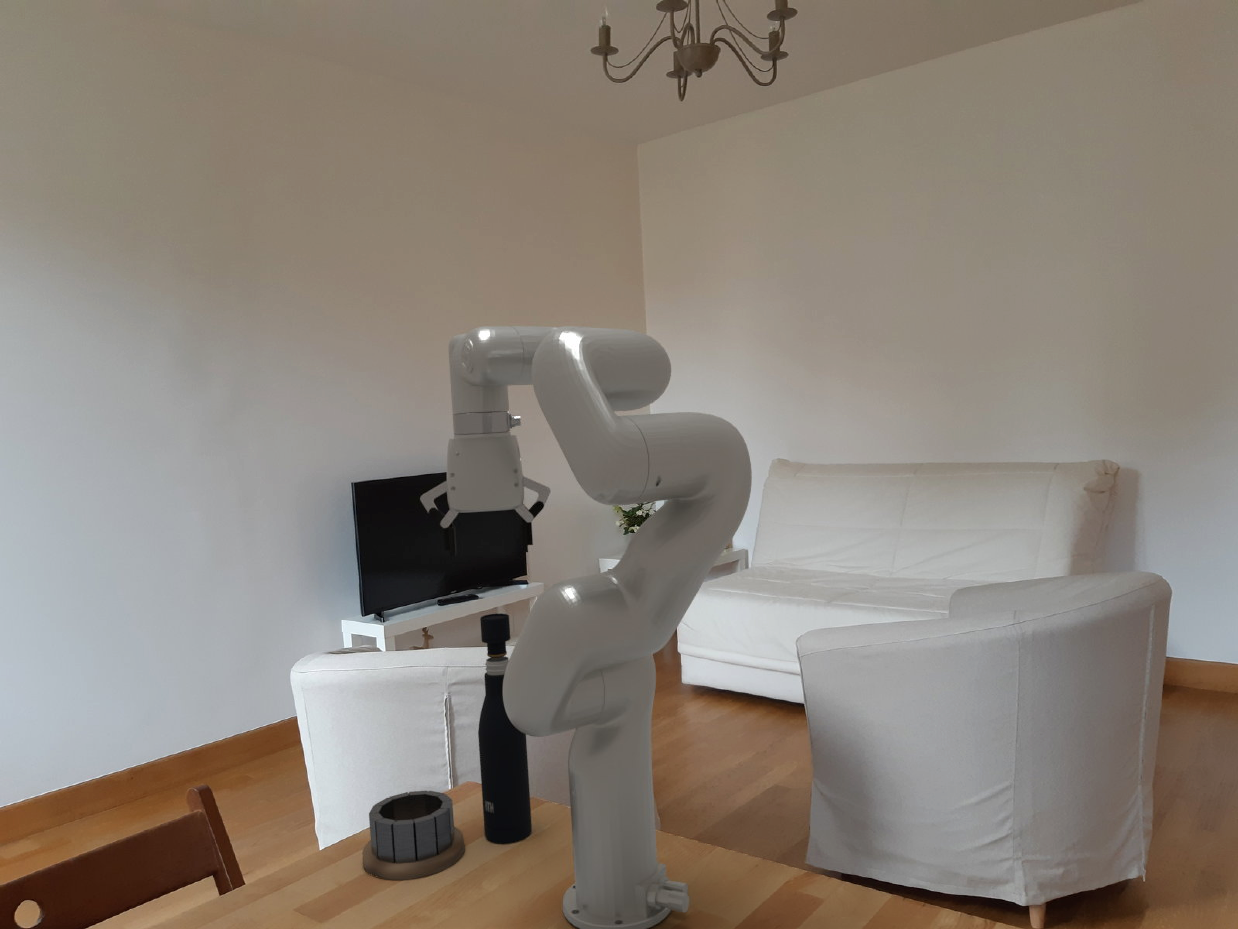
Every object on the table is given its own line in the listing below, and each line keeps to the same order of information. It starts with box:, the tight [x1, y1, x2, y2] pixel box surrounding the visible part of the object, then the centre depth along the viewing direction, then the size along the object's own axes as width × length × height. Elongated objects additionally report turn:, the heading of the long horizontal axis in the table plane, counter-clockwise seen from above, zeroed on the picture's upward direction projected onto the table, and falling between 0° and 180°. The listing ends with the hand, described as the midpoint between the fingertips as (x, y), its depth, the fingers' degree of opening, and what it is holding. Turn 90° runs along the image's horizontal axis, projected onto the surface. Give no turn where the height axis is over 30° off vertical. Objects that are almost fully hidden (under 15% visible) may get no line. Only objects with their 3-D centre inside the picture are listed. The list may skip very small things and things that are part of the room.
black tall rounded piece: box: [477, 613, 533, 845], centre depth 127 cm, size 6×6×30 cm
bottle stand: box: [361, 790, 465, 881], centre depth 122 cm, size 13×13×6 cm
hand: (489, 553), depth 126 cm, fingers open, 9 cm apart
